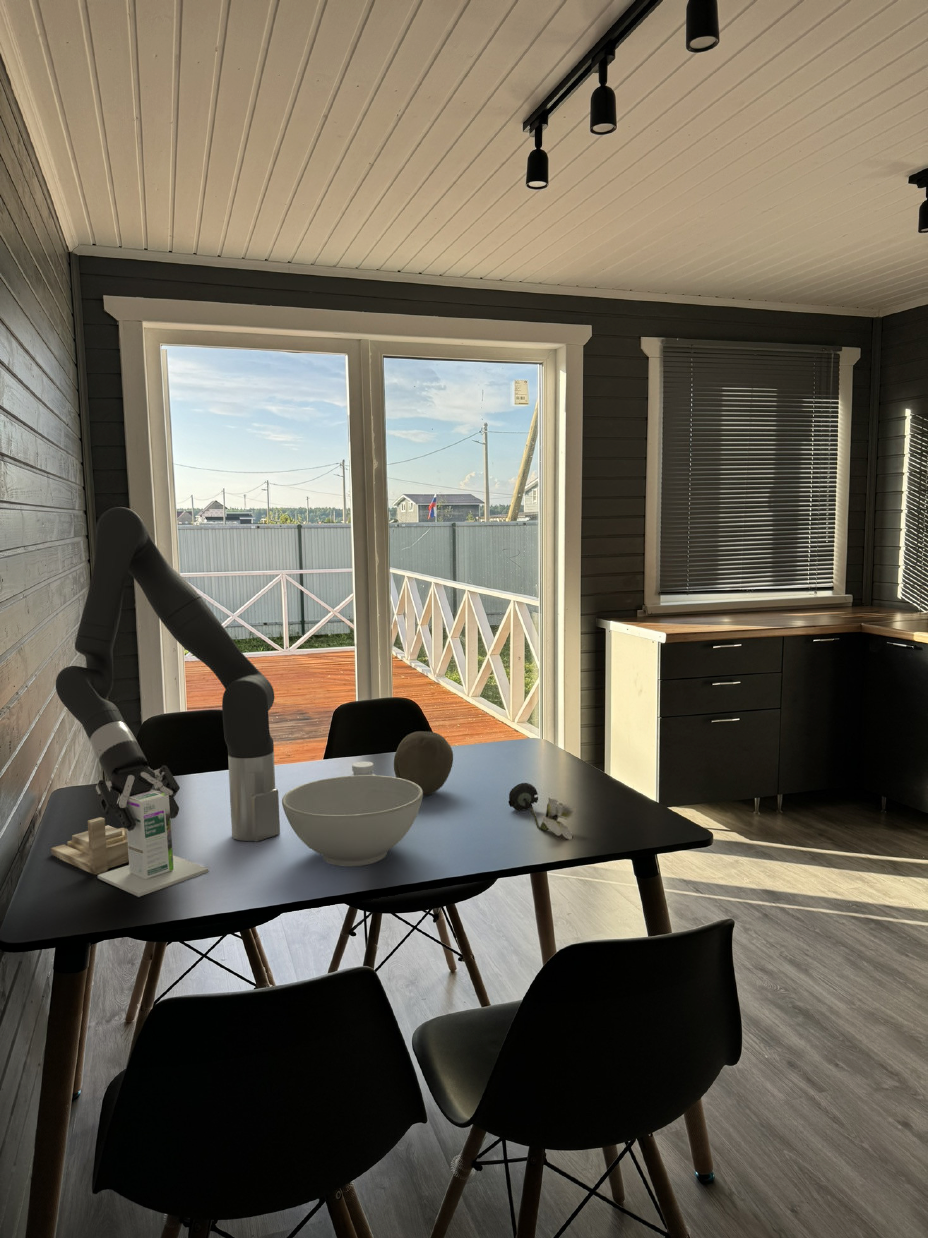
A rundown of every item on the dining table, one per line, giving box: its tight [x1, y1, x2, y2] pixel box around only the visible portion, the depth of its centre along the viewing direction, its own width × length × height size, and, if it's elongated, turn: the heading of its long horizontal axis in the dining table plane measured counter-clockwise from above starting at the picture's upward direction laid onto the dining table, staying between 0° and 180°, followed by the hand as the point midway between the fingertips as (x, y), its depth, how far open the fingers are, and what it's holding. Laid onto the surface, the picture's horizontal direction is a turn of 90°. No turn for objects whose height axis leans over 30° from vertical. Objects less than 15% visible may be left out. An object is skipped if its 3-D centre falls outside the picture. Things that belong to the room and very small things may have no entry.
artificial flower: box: [508, 782, 578, 840], centre depth 180 cm, size 9×22×10 cm, turn 13°
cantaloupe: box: [393, 730, 454, 797], centre depth 203 cm, size 14×14×15 cm
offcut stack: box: [66, 824, 125, 852], centre depth 171 cm, size 7×9×3 cm
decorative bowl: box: [281, 774, 424, 867], centre depth 164 cm, size 27×27×12 cm
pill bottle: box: [350, 761, 376, 776], centre depth 188 cm, size 6×6×12 cm
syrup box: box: [125, 789, 174, 880], centre depth 156 cm, size 6×6×14 cm
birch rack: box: [50, 816, 129, 876], centre depth 168 cm, size 17×15×10 cm
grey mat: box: [97, 854, 210, 898], centre depth 156 cm, size 14×14×1 cm
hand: (154, 822), depth 155 cm, fingers open, 8 cm apart
